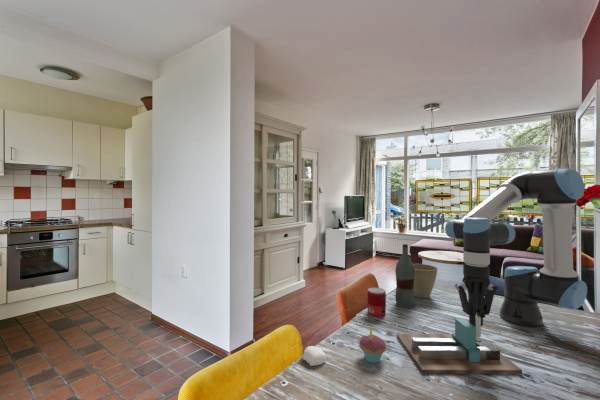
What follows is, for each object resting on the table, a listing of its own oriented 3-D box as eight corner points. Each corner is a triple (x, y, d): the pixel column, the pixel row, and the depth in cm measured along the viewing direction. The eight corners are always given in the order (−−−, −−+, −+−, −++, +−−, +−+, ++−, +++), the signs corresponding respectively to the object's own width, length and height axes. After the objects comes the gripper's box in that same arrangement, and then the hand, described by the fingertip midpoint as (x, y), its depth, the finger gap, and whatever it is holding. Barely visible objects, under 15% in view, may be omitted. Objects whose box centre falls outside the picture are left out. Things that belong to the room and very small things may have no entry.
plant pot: (410, 300, 149) (410, 269, 149) (405, 291, 164) (405, 263, 164) (441, 301, 147) (441, 270, 147) (432, 292, 162) (432, 264, 162)
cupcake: (381, 369, 89) (381, 330, 89) (355, 360, 93) (355, 324, 93) (388, 356, 96) (388, 320, 96) (364, 349, 101) (364, 315, 101)
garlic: (299, 356, 96) (299, 345, 96) (316, 352, 99) (316, 341, 99) (310, 369, 89) (310, 357, 89) (329, 364, 92) (329, 352, 92)
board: (475, 337, 110) (475, 334, 110) (522, 374, 87) (522, 370, 87) (396, 336, 110) (396, 333, 110) (422, 373, 87) (422, 369, 87)
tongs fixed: (485, 348, 99) (485, 338, 99) (499, 360, 92) (500, 350, 92) (412, 347, 99) (412, 338, 99) (421, 359, 92) (421, 349, 92)
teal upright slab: (460, 344, 101) (460, 316, 101) (479, 362, 90) (479, 330, 90) (452, 344, 101) (452, 316, 101) (470, 362, 90) (470, 330, 90)
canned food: (386, 318, 127) (386, 293, 127) (367, 316, 129) (367, 292, 129) (384, 311, 135) (384, 287, 135) (367, 310, 136) (367, 286, 136)
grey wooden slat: (470, 347, 99) (470, 338, 99) (474, 351, 97) (474, 342, 97) (411, 346, 100) (411, 337, 100) (414, 349, 98) (414, 340, 98)
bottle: (392, 301, 147) (393, 243, 147) (410, 301, 147) (411, 243, 147) (398, 308, 138) (398, 246, 138) (417, 308, 138) (418, 246, 138)
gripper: (488, 261, 99) (488, 330, 99) (450, 261, 99) (450, 329, 99) (503, 267, 92) (503, 340, 92) (463, 266, 92) (462, 340, 92)
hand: (475, 335), depth 96 cm, fingers closed
